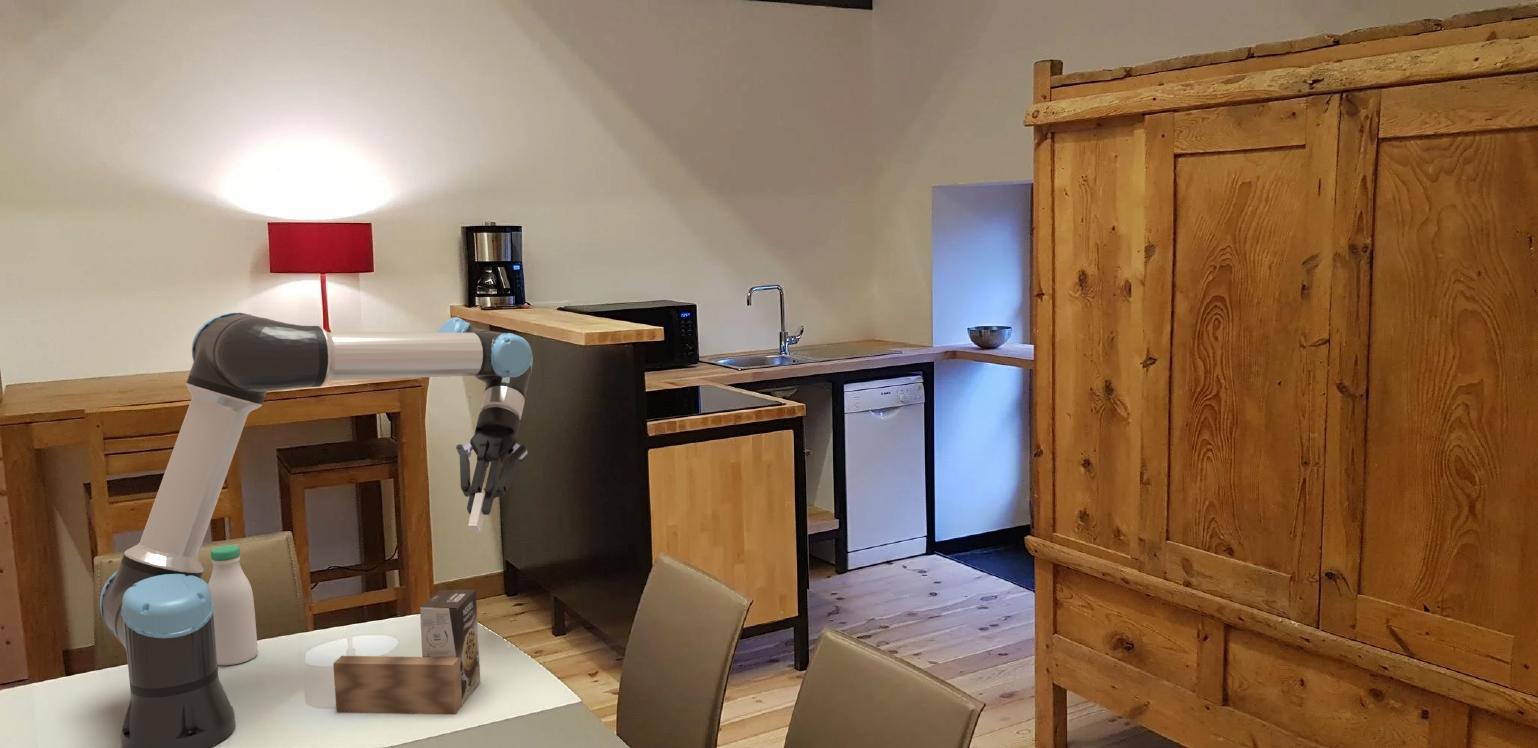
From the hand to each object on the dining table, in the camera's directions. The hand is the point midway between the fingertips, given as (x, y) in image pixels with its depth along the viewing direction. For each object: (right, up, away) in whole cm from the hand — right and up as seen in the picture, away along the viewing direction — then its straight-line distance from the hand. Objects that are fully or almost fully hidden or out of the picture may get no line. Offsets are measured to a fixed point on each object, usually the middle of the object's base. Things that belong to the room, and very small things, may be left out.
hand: (474, 529), depth 194 cm
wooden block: (-8, -26, -16) cm, 31 cm away
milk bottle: (-44, -24, +6) cm, 50 cm away
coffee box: (-1, -25, -10) cm, 27 cm away
